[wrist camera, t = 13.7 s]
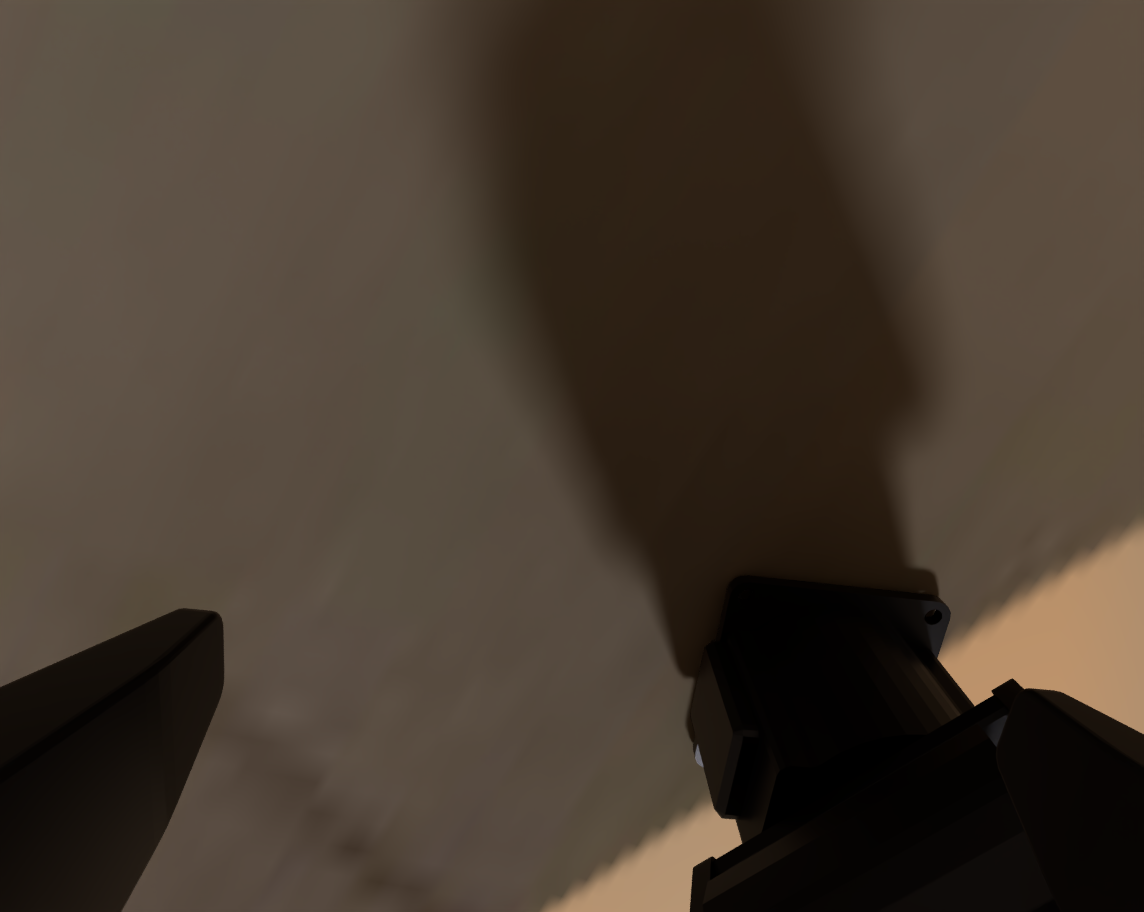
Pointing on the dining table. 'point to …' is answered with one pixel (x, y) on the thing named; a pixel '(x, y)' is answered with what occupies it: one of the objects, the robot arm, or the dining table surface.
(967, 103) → the dining table surface
